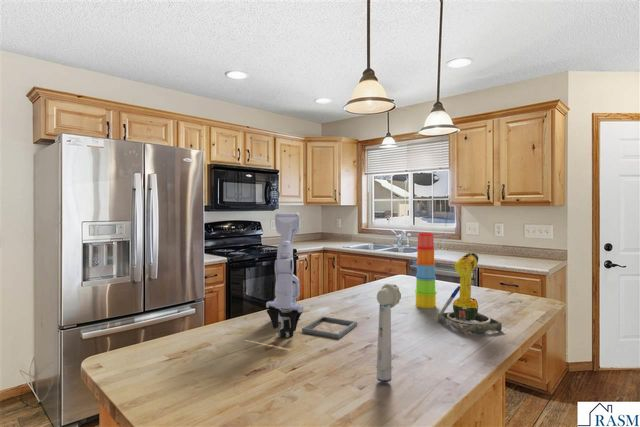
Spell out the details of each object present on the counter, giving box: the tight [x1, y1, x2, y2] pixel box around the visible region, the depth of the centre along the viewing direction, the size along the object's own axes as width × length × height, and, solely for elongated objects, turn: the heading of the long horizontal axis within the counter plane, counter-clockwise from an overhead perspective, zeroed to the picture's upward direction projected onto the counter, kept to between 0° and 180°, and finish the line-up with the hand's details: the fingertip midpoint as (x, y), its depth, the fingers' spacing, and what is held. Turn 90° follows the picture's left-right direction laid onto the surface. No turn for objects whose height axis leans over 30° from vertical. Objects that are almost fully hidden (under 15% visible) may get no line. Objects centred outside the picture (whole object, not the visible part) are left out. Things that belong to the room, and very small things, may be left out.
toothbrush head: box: [374, 283, 402, 383], centre depth 96 cm, size 5×7×25 cm
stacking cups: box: [414, 232, 438, 309], centre depth 167 cm, size 10×10×35 cm
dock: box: [301, 316, 358, 340], centre depth 137 cm, size 15×17×2 cm
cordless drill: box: [437, 252, 503, 335], centre depth 140 cm, size 18×19×28 cm
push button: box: [275, 308, 294, 339], centre depth 128 cm, size 7×5×10 cm
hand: (284, 329), depth 128 cm, fingers open, 7 cm apart
